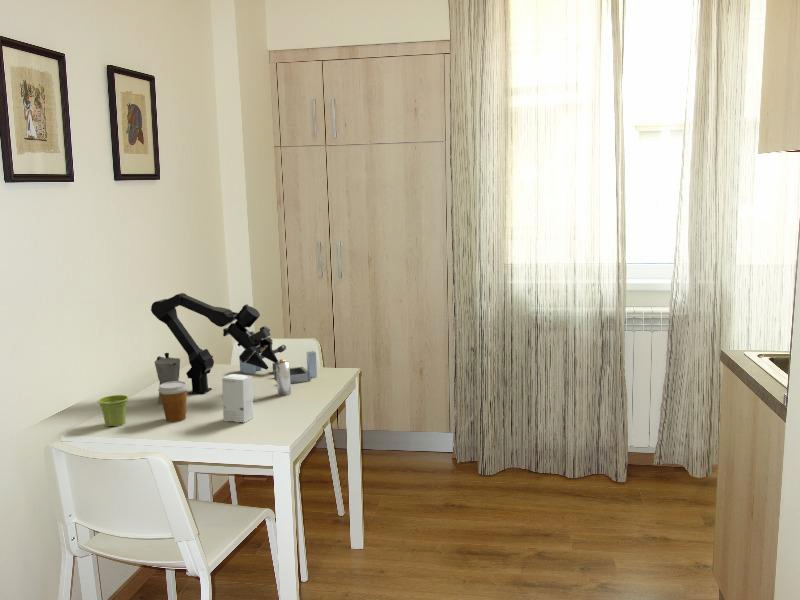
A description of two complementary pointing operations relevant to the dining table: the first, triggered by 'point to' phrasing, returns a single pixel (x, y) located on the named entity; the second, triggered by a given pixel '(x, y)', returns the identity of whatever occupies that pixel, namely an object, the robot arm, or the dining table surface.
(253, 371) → the lever frame
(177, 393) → the disposable coffee cup
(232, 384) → the skincare box
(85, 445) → the dining table surface
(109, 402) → the plant pot
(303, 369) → the tray
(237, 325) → the robot arm
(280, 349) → the lever
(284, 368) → the silver metal cylinder
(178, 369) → the coffeepot
